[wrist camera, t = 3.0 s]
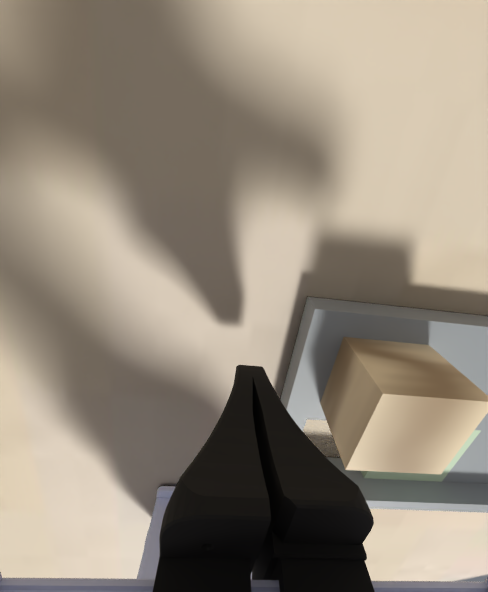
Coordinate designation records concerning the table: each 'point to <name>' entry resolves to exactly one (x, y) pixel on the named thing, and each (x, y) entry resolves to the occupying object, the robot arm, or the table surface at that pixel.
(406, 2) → the table surface
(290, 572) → the robot arm
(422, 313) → the tray
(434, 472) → the block
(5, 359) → the table surface
